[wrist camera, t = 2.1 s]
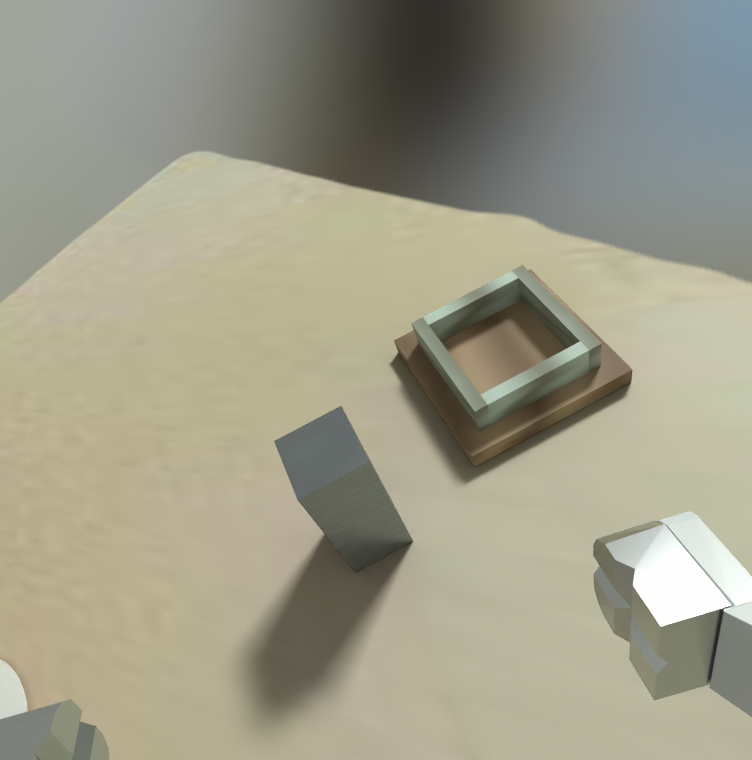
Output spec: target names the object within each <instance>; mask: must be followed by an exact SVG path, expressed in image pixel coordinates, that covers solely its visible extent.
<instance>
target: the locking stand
mask: <svg viewBox="0 0 752 760" xmlns="http://www.w3.org/2000/svg"><path fill="white" fill-rule="evenodd" d="M412 326H413V329H414V331H412V332H410V333H408V334H406V335H404V336H402V337H400V338H398V339H396V340H394V341H395V344H396V347H397V350H398V352H399V354H400V355H401V357H402V358H403V360H404V361H405V363H406V364H407V366H408V367H409V369H410V370H411V372H412V373H413V375H414V376H415V378H416V379H417V381H418V382H419V384H420V386H421V387H422V389H423V390H424V392H425V393H426V395H427V396H428V398H429V399H430V401H431V402H432V404H433V405H434V407H435V408H436V410H437V411H438V413H439V414H440V416H441V417H442V419H443V420H444V422H445V423H446V425H447V426H448V428H449V429H450V431H451V432H452V434H453V435H454V437H455V438H456V440H457V441H458V443H459V444H460V446H461V448H462V449H463V451H464V452H465V454H466V455H467V457H468V458H469V460H470V461H471V463H472V464H473V466H474V467H476V466H478V465H479V464H481V463H483V462H485V461H487V460H489V459H490V458H492V457H494V456H496V455H498V454H500V453H501V452H503V451H505V450H507V449H509V448H511V447H513V446H514V445H516V444H518V443H520V442H522V441H524V440H525V439H527V438H529V437H531V436H533V435H535V434H536V433H538V432H540V431H542V430H544V429H546V428H548V427H549V426H551V425H553V424H555V423H557V422H559V421H560V420H562V419H564V418H566V417H568V416H570V415H571V414H573V413H575V412H577V411H579V410H581V409H583V408H584V407H586V406H588V405H590V404H592V403H594V402H595V401H597V400H599V399H601V398H603V397H605V396H606V395H608V394H610V393H612V392H614V391H616V390H617V389H619V388H621V387H623V386H625V385H627V384H629V383H630V382H631V379H632V369H631V368H630V367H629V366H628V365H627V364H626V363H625V362H624V361H623V360H622V359H621V358H620V357H619V356H618V355H617V354H616V353H615V352H614V351H613V350H612V349H611V348H610V347H609V346H608V345H607V344H606V343H605V342H604V341H603V340H602V339H601V338H600V337H599V336H598V335H597V334H596V333H595V332H594V331H593V330H592V329H591V328H590V327H589V326H588V325H587V324H586V323H585V322H584V321H583V320H582V319H581V318H580V317H579V316H578V315H577V314H576V313H575V312H574V311H573V310H572V309H570V308H569V307H568V306H567V305H566V304H565V303H564V302H563V301H562V300H561V299H560V298H559V297H558V296H557V295H556V294H555V293H554V292H553V291H552V290H551V289H550V288H549V287H548V286H547V285H546V284H545V283H544V282H543V281H542V280H541V279H540V278H539V277H538V276H537V275H536V274H535V273H534V272H533V271H532V270H531V269H530V270H527V269H526V268H525V267H524V266H523V265H522V266H520V267H518V268H516V269H514V270H512V271H510V272H509V273H507V274H505V275H503V276H501V277H499V278H497V279H495V280H493V281H491V282H489V283H487V284H486V285H484V286H482V287H480V288H478V289H476V290H474V291H472V292H470V293H468V294H466V295H465V296H463V297H461V298H459V299H457V300H455V301H453V302H451V303H449V304H447V305H445V306H443V307H442V308H440V309H438V310H436V311H434V312H432V313H430V314H428V315H426V316H424V317H422V318H420V319H419V320H417V321H415V322H413V323H412Z"/></svg>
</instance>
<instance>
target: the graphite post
mask: <svg viewBox="0 0 752 760" xmlns="http://www.w3.org/2000/svg"><path fill="white" fill-rule="evenodd" d="M274 442H275V444H276V447H277V449H278V452H279V454H280V457H281V459H282V462H283V464H284V467H285V469H286V472H287V474H288V477H289V479H290V482H291V484H292V487H293V489H294V492H295V494H296V497H297V499H298V501H299V502H300V504H301V505H302V506H303V507H304V509H305V510H306V511H307V512H308V514H309V515H310V516H311V517H312V519H313V520H314V521H315V522H316V524H317V525H318V526H319V527H320V529H321V530H322V531H323V532H324V534H325V535H326V536H327V538H328V539H329V540H330V541H331V543H332V544H333V545H334V546H335V548H336V549H337V550H338V551H339V553H340V554H341V555H342V556H343V558H344V559H345V560H346V561H347V563H348V564H349V565H350V566H351V568H352V569H353V570H354V572H355V573H356V572H358V571H360V570H362V569H364V568H365V567H367V566H369V565H371V564H373V563H374V562H376V561H378V560H380V559H382V558H384V557H385V556H387V555H389V554H391V553H393V552H394V551H396V550H398V549H400V548H402V547H404V546H405V545H407V544H409V543H411V542H413V540H412V538H411V536H410V535H409V533H408V531H407V529H406V527H405V525H404V523H403V521H402V519H401V517H400V515H399V514H398V512H397V510H396V508H395V506H394V504H393V502H392V500H391V498H390V496H389V494H388V493H387V491H386V489H385V487H384V485H383V483H382V481H381V479H380V478H379V476H378V474H377V472H376V470H375V468H374V466H373V464H372V463H371V461H370V459H369V457H368V455H367V453H366V451H365V450H364V448H363V446H362V444H361V442H360V440H359V438H358V437H357V435H356V433H355V431H354V429H353V427H352V425H351V423H350V422H349V420H348V418H347V416H346V414H345V412H344V410H343V409H342V407H341V406H340V407H338V408H336V409H334V410H332V411H331V412H329V413H327V414H325V415H323V416H321V417H319V418H317V419H315V420H313V421H312V422H310V423H308V424H306V425H304V426H302V427H300V428H298V429H296V430H295V431H293V432H291V433H289V434H287V435H285V436H283V437H281V438H279V439H278V440H276V441H274Z"/></svg>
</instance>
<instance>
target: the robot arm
mask: <svg viewBox="0 0 752 760" xmlns="http://www.w3.org/2000/svg"><path fill="white" fill-rule="evenodd" d="M593 556H594V557H595V559H596V560H597V562H598V564H599V565H600V566H599V568H598V569H597V570H596V572H595V573H594V589H595V592H596V596H597V599H598V603H599V606H600V608H601V610H602V612H603V615H604V617H605V619H606V621H607V622H608V624H609V626H610V628H611V629H612V631H613V633H614V634H616V635H618V636H619V637H621V638H623V639H625V640H626V641H628V642H630V658H629V660H630V661H631V663H632V665H633V666H634V668H635V670H636V671H637V673H638V674H639V676H640V678H641V679H642V681H643V683H644V684H645V686H646V688H647V689H648V691H649V693H650V694H651V696H652V698H653V699H654V700H657V699H661V698H664V697H668V696H671V695H675V694H678V693H682V692H685V691H689V690H692V689H696V688H699V687H702V686H706V685H709V684H710V689H712V690H713V691H715V692H716V693H718V694H719V695H721V696H722V697H724V698H725V699H726V700H728V701H729V702H731V703H732V704H734V705H735V706H737V707H738V708H740V709H741V710H742V711H744V712H745V713H747V714H748V715H750V716H751V717H752V576H751V575H750V573H749V572H748V571H747V570H746V569H745V568H744V567H743V566H742V565H741V563H740V562H739V561H738V560H737V559H736V558H735V557H734V556H733V555H732V553H731V552H730V551H729V550H728V549H727V548H726V547H725V546H724V545H723V544H722V542H721V541H720V540H719V539H718V538H717V537H716V536H715V535H714V534H713V532H712V531H711V530H710V529H709V528H708V527H707V526H706V525H705V524H704V522H703V521H702V520H701V519H700V518H699V517H698V516H697V515H695V514H693V513H692V512H690V511H689V512H684V513H680V514H677V515H674V516H671V517H668V518H665V519H662V520H659V521H652V522H649V523H646V524H642V525H639V526H636V527H633V528H630V529H627V530H624V531H621V532H617V533H614V534H611V535H608V536H605V537H602V538H599V539H596V541H595V543H594V546H593ZM81 713H82V710H81V709H80V708H79V707H78V706H77V705H76V704H75V703H74V702H73V701H72V700H71V699H70V700H66V701H63V702H59V703H56V704H52V705H49V706H45V707H42V708H38V709H34V710H31V711H28V710H27V701H26V696H25V692H24V689H23V686H22V684H21V681H20V679H19V678H18V676H17V674H16V673H15V672H14V670H13V669H12V668H11V667H10V666H9V665H8V664H7V663H5V662H4V661H2V660H1V659H0V760H109V750H108V746H107V744H106V741H105V739H104V736H103V734H102V733H101V732H100V731H99V729H98V728H97V727H96V726H93V725H90V724H86V723H83V722H80V718H81Z"/></svg>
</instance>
